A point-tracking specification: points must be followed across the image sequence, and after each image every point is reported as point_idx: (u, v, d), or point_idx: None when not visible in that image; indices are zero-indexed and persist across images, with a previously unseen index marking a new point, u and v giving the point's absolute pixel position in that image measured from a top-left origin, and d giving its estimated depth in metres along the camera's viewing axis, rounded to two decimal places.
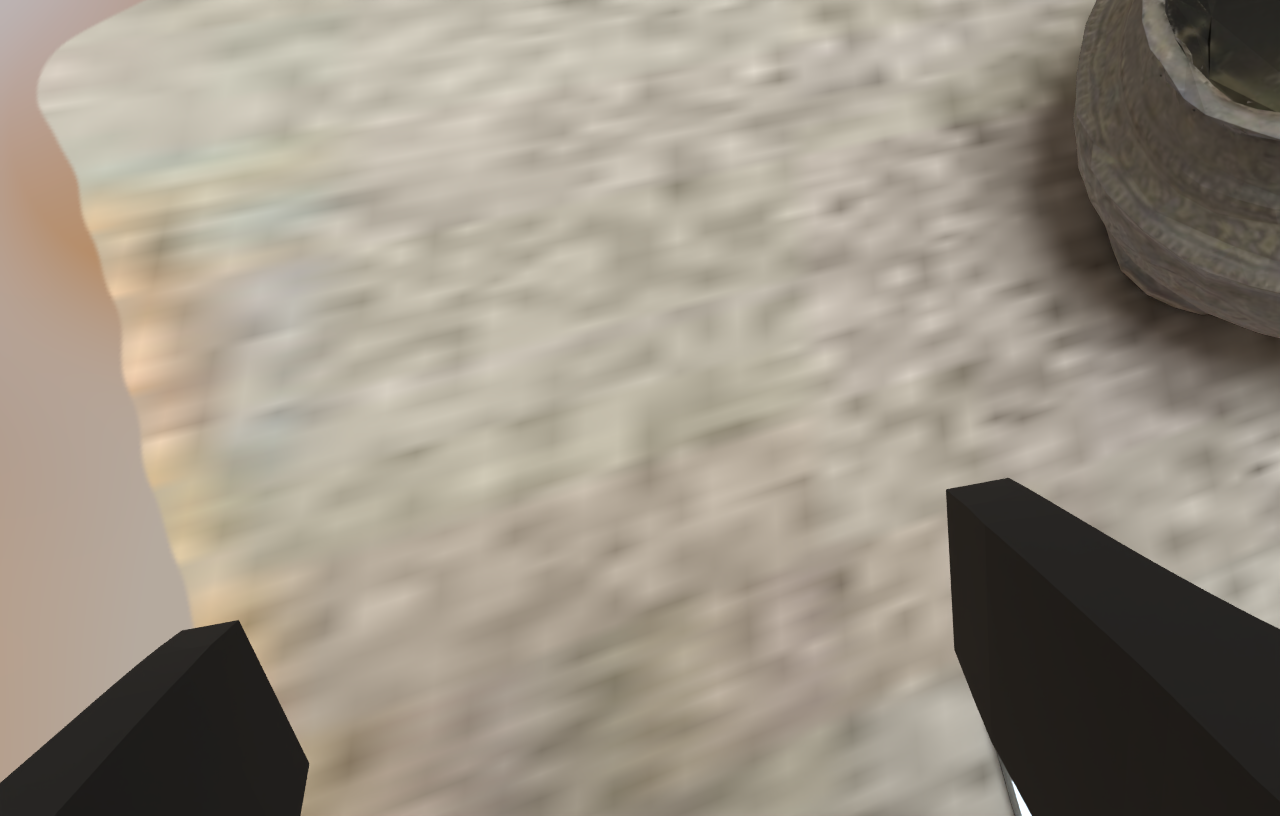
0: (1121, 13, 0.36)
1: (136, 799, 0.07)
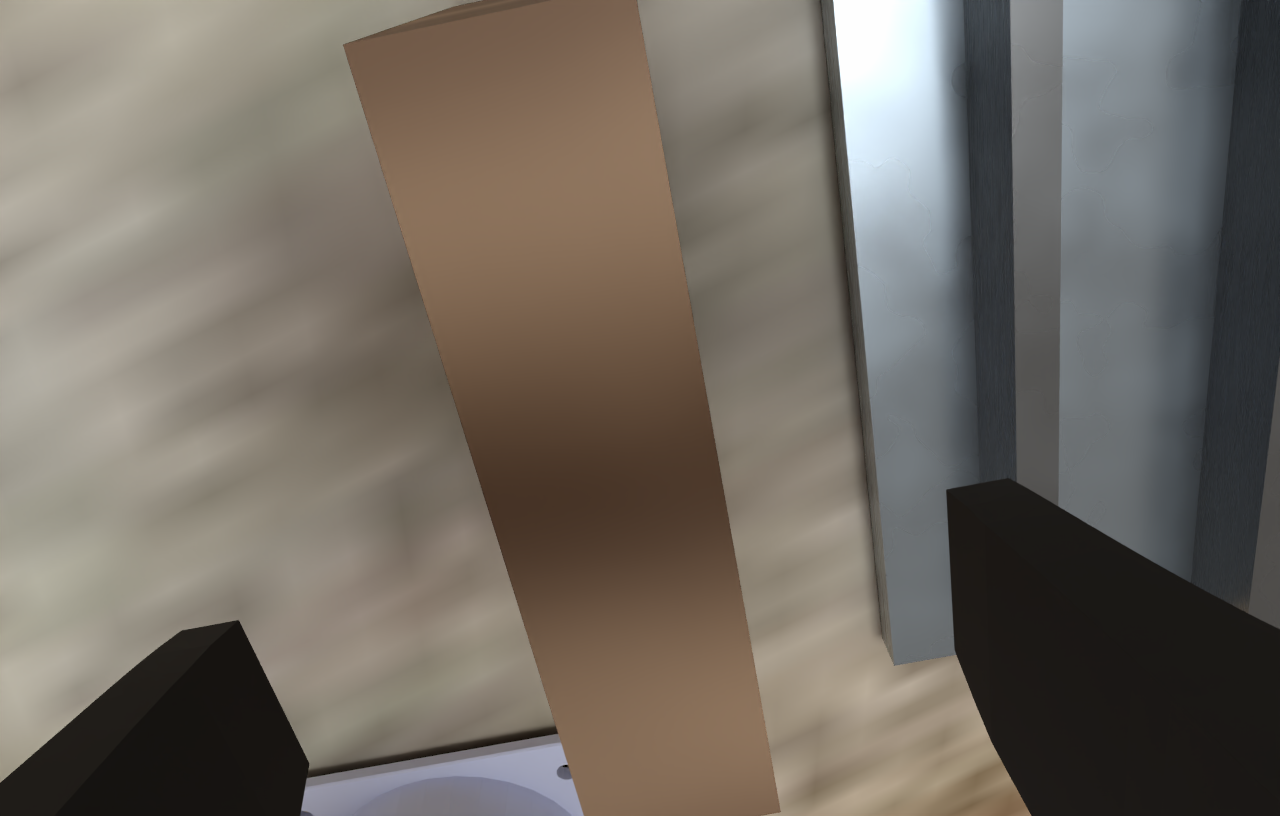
0: None
1: (136, 799, 0.07)
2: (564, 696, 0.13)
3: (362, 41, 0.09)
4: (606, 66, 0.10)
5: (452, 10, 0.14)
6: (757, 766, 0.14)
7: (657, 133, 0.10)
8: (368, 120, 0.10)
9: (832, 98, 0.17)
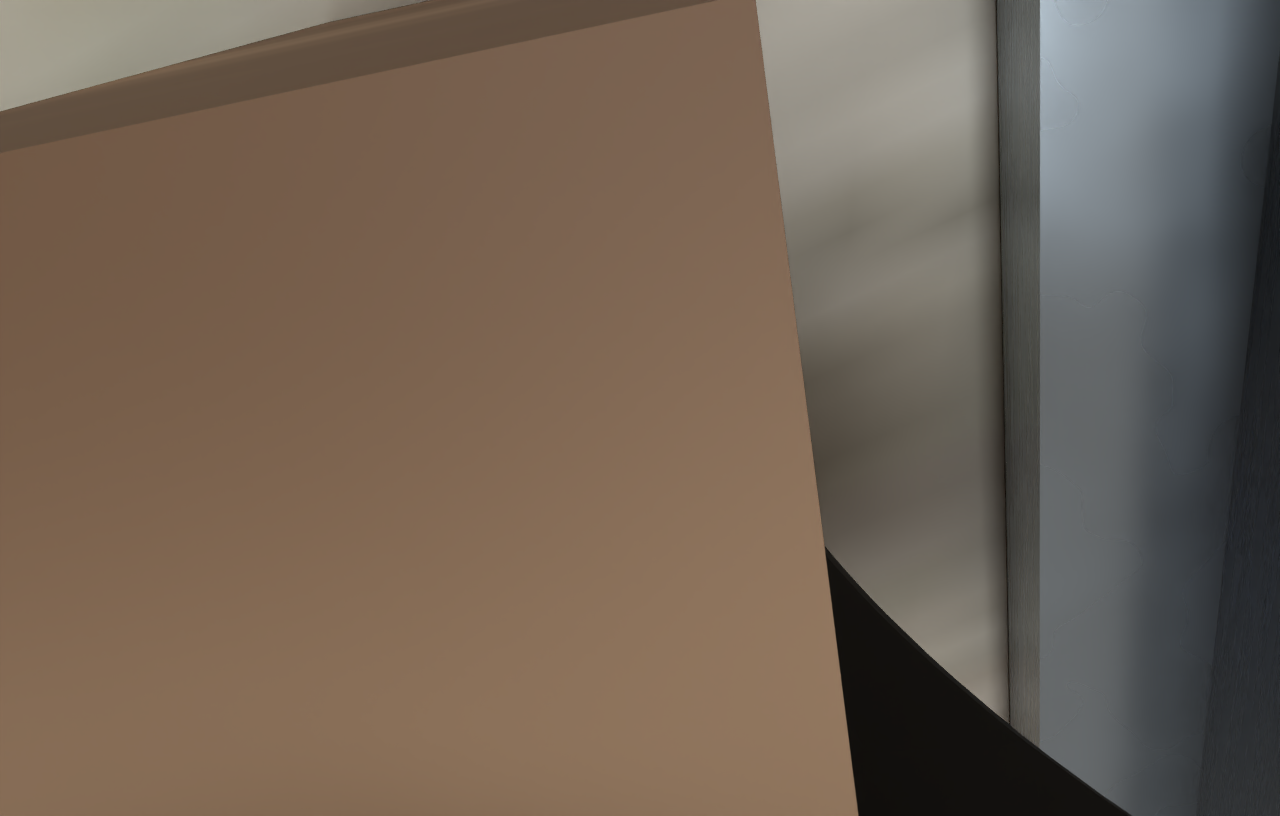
0: None
1: None
2: None
3: None
4: (608, 376, 0.02)
5: (276, 39, 0.06)
6: None
7: (822, 612, 0.02)
8: None
9: (1007, 181, 0.10)
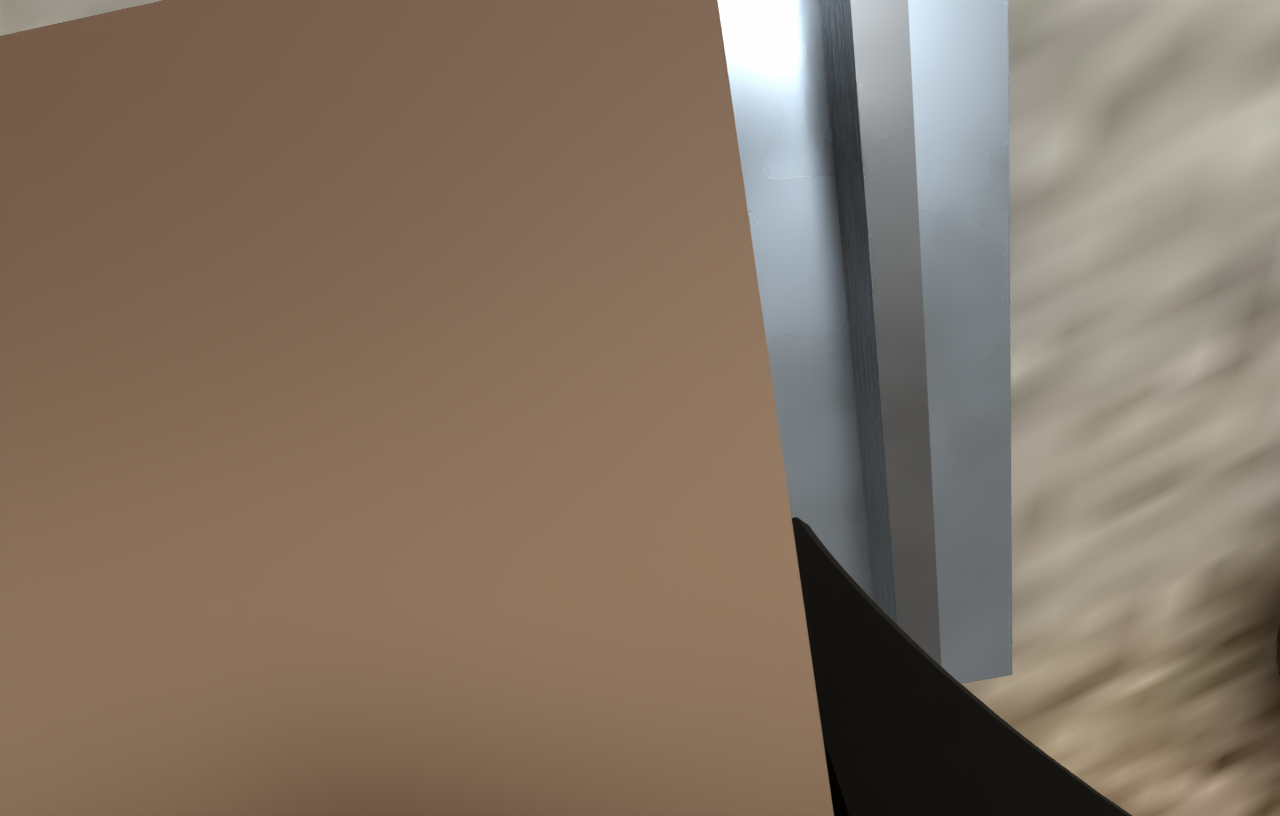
0: None
1: None
2: None
3: None
4: (581, 242, 0.02)
5: None
6: None
7: (774, 466, 0.03)
8: None
9: None
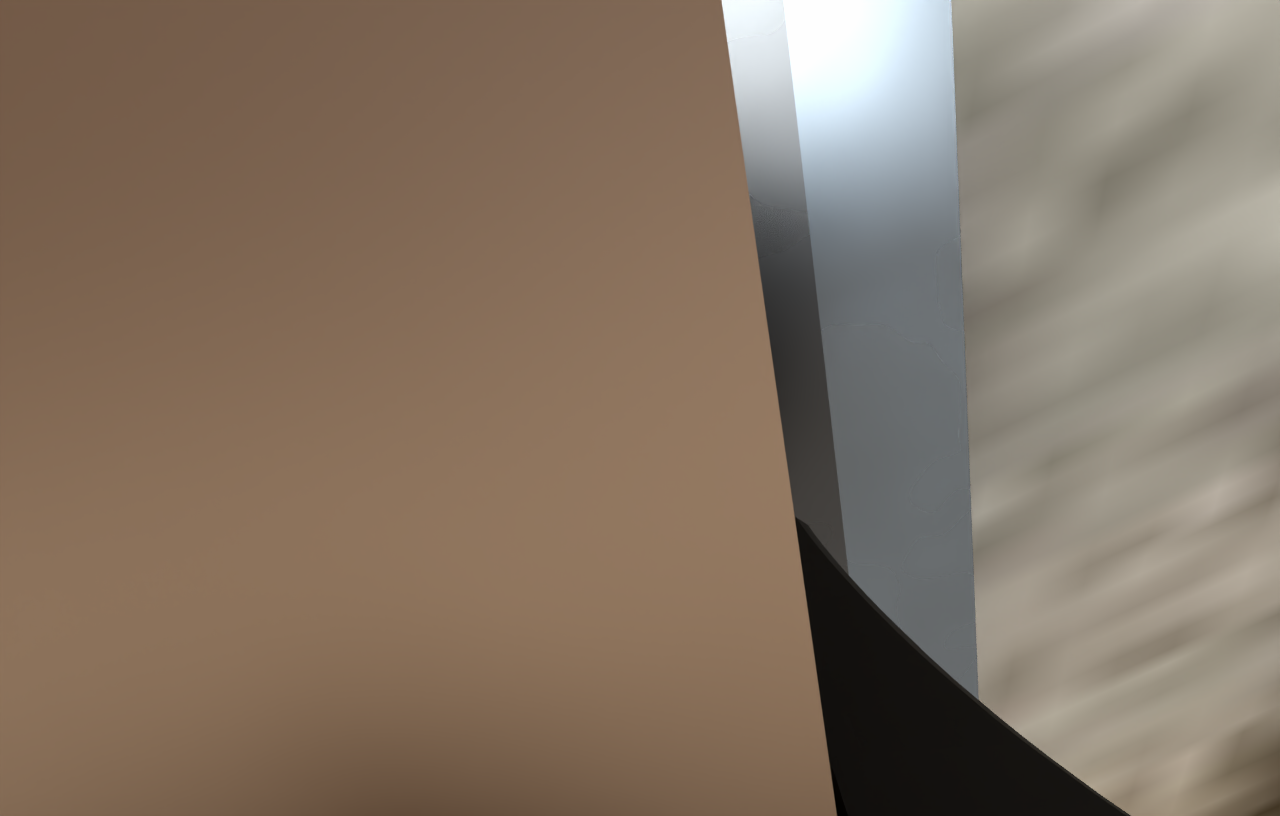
0: None
1: None
2: None
3: None
4: (583, 188, 0.02)
5: None
6: None
7: (769, 412, 0.03)
8: None
9: None
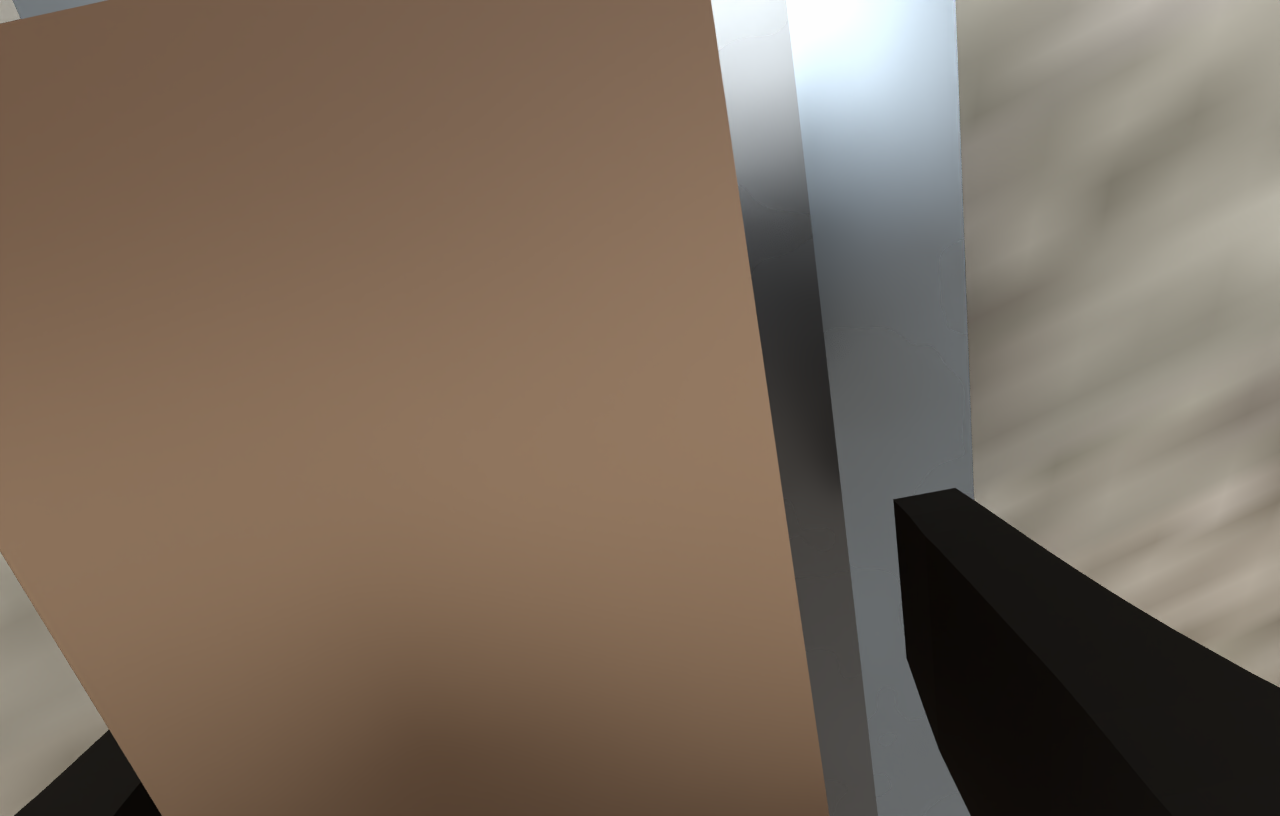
0: None
1: None
2: None
3: None
4: (599, 154, 0.03)
5: None
6: None
7: (752, 344, 0.03)
8: None
9: None
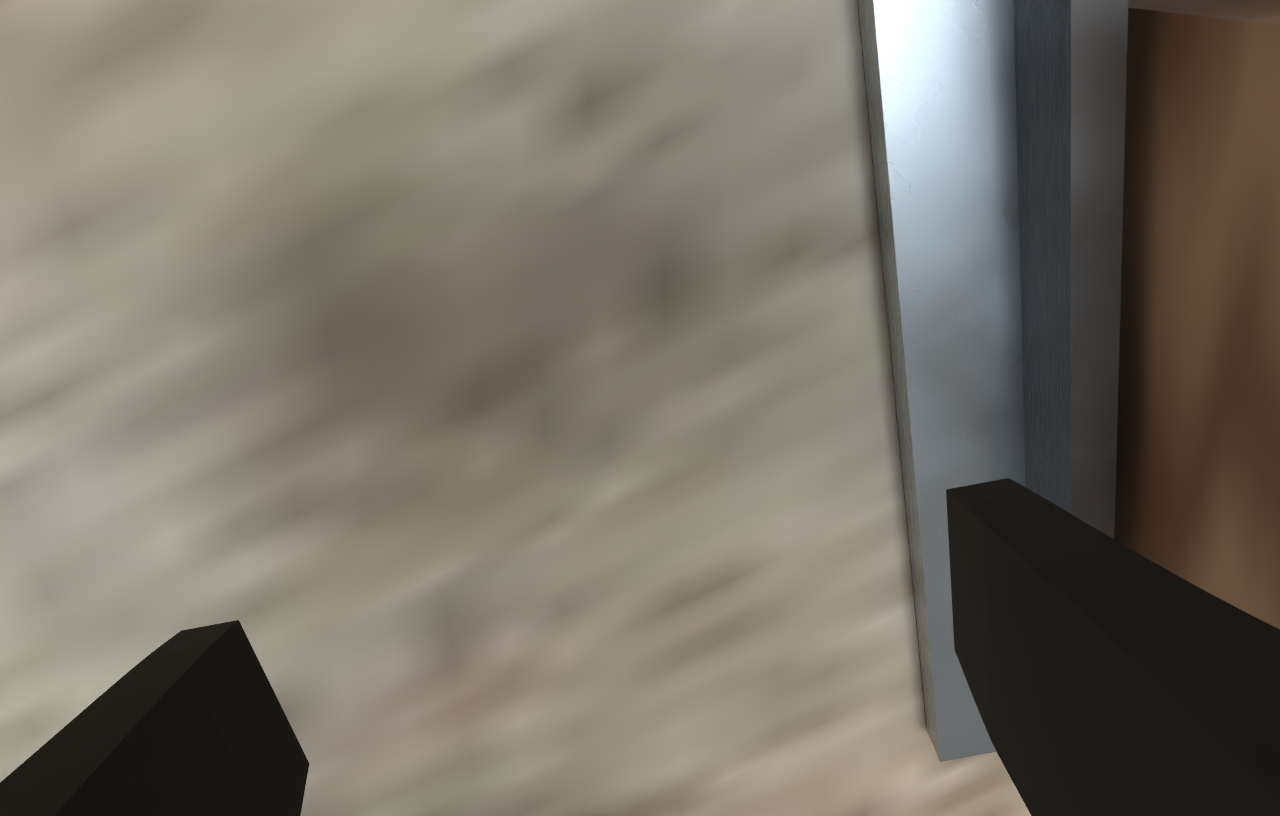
0: None
1: (136, 799, 0.07)
2: None
3: None
4: None
5: (1232, 8, 0.12)
6: None
7: None
8: None
9: (881, 224, 0.17)
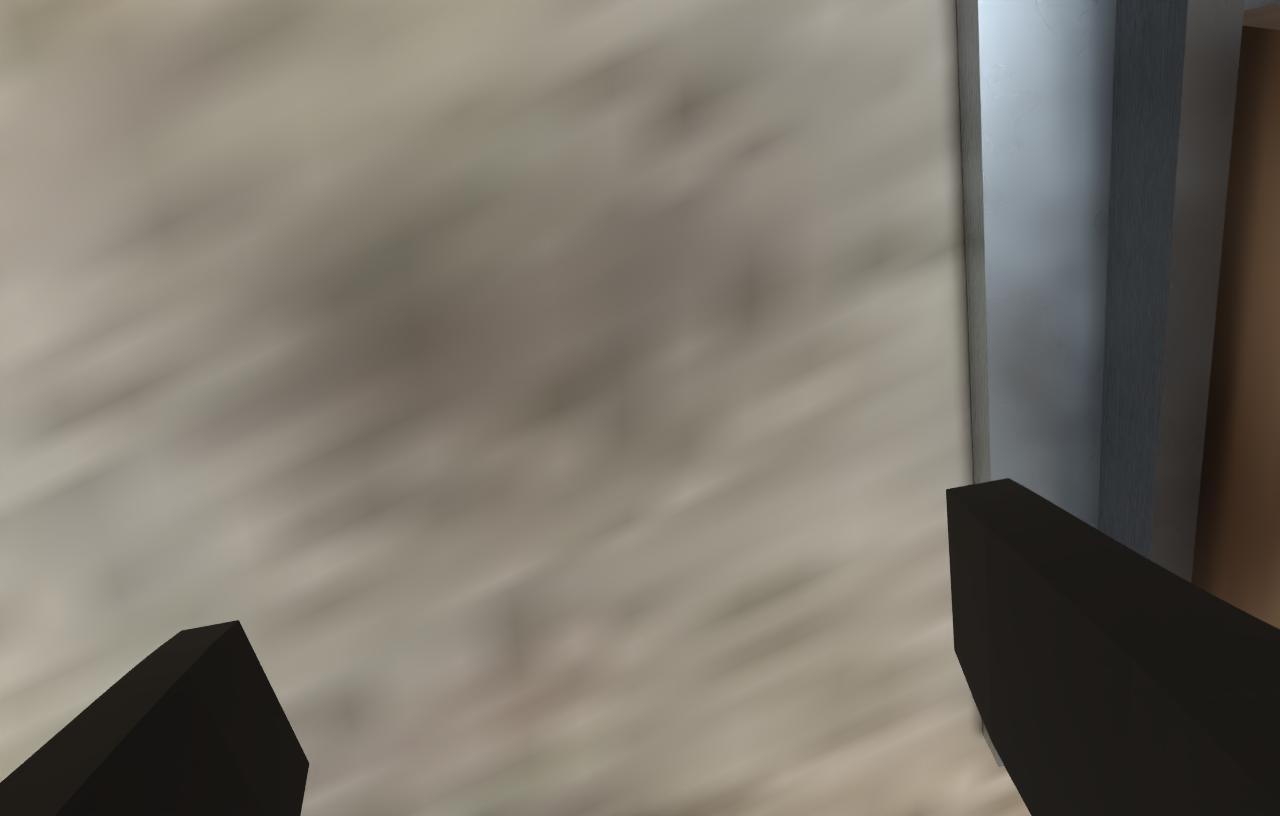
0: None
1: (136, 799, 0.07)
2: None
3: None
4: None
5: None
6: None
7: None
8: None
9: (968, 234, 0.17)
